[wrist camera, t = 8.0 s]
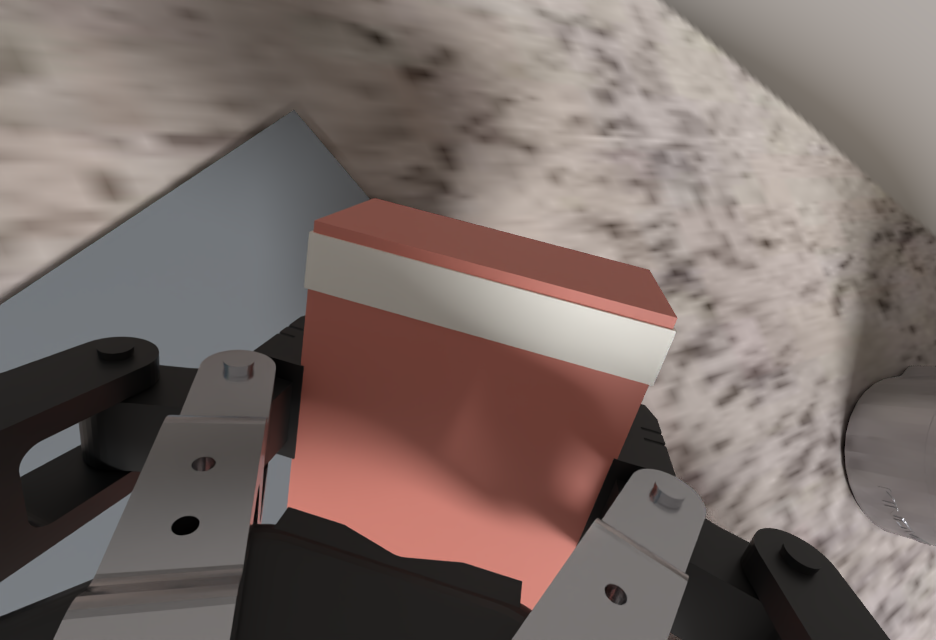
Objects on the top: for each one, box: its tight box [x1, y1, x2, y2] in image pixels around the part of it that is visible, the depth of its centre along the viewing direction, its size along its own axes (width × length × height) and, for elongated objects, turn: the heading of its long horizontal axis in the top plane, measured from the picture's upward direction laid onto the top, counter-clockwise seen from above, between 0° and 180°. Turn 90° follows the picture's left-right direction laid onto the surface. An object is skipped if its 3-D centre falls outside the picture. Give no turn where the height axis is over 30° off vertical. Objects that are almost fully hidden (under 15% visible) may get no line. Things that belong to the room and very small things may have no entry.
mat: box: [0, 110, 370, 616], centre depth 19 cm, size 20×16×1 cm
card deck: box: [287, 198, 677, 610], centre depth 11 cm, size 6×3×10 cm
